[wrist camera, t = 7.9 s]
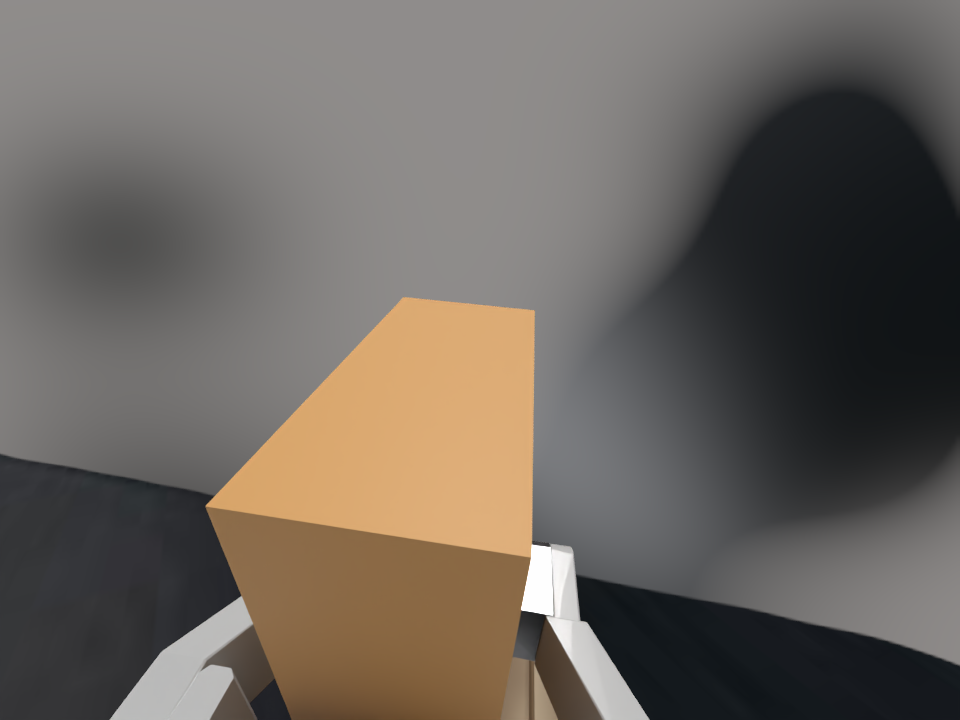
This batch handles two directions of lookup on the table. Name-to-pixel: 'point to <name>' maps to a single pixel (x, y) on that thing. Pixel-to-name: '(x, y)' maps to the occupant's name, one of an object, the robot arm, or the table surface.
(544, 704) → the rack
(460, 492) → the orange rectangular block
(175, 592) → the table surface
